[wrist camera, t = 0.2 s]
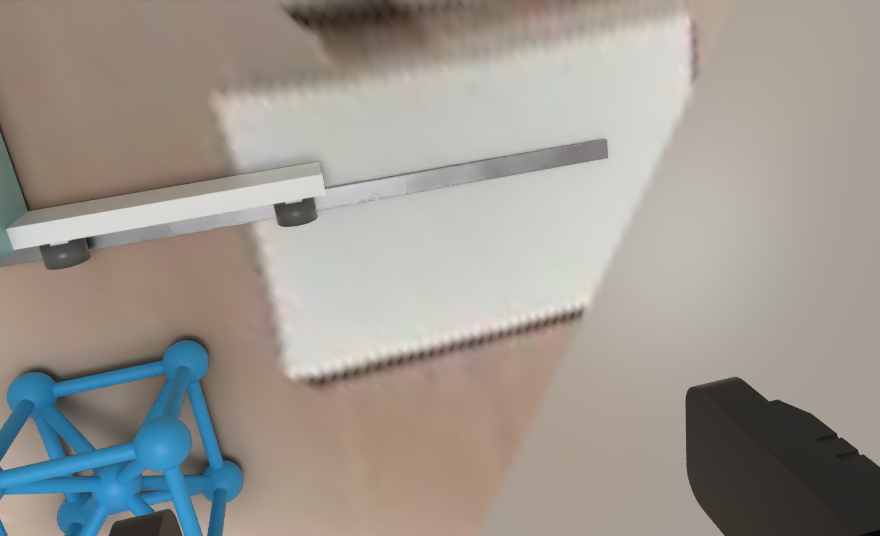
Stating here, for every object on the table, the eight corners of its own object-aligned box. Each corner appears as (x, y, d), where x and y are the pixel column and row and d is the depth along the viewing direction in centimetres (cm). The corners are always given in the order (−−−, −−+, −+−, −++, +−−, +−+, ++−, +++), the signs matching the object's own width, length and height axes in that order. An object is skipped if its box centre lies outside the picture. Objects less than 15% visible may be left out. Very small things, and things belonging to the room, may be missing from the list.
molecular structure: (205, 328, 39) (179, 428, 30) (248, 481, 43) (238, 612, 33) (9, 369, 38) (-81, 487, 28) (71, 523, 41) (9, 671, 32)
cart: (-104, -71, 30) (-190, -89, 25) (265, -114, 32) (261, -139, 27) (19, 264, 36) (-30, 312, 30) (328, 208, 38) (335, 243, 32)
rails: (-135, -66, 30) (-138, -67, 30) (590, -151, 35) (593, -152, 35) (-8, 266, 36) (-11, 269, 35) (605, 156, 40) (607, 157, 40)
